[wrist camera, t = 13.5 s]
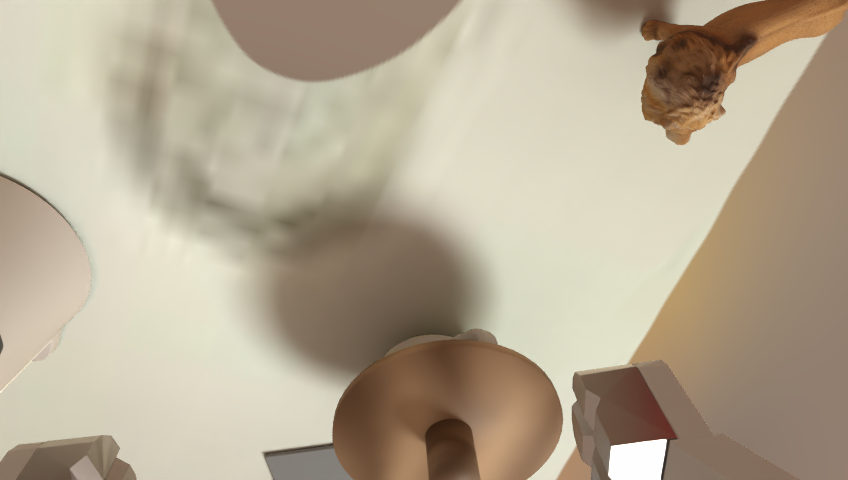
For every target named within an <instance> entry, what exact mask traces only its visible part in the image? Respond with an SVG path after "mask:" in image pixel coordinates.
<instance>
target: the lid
mask: <svg viewBox="0 0 848 480" xmlns="http://www.w3.org/2000/svg"><path fill="white" fill-rule="evenodd" d="M562 424H563V414H562V407H561V404H560V400H559V397H558V395H557V392H556V390H555V388H554V386H553V384H552V382H551V380H550V379H549V378H548V376H547V375H546V374H545V372H544V371H543V370H542V369H541V368H540V367H539V366H537V365H536V364H535V363H534V362H532V361H531V360H530V359H528V358H527V357H525V356H523V355H521V354H520V353H518V352H516V351H514V350H511V349H509V348H506V347H503V346H500V345H497V344H492V343H488V342H483V341H475V340H457V339H451V340H439V341H432V342H427V343H421V344H417V345H414V346H410V347H407V348H404V349H401V350H399V351H396V352H394V353H392V354H389V355H387V356H386V357H384V358H382V359H380V360H378V361H376V362H375V363H373V364H372V365H371V366H369V367H368V368H366V369H365V370H364V371H363V372H362V373H360V374H359V375H358V376H357V377H356V378H355V379H354V380H353V381H352V382H351V384H350V385H349V386H348V387H347V389H346V390H345V392H344V393H343V395H342V397H341V398H340V400H339V403H338V405H337V408H336V411H335V416H334V421H333V445H334V450H335V453H336V456H337V458H338V460H339V462H340V464H341V465H342V467H343V468H344V470H345V471H346V472H347V473H348V474H349V476H350V477H351V478H352V479H354V480H526V479H528V478H529V477H531V476H532V475H533V474H534V473H535V472H536V471H538V470H539V469H540V468H541V467H542V466H543V464H544V463H545V462H546V461H547V460H548V459H549V457H550V456H551V454H552V453H553V451H554V450H555V447H556V445H557V443H558V441H559V438H560V435H561V432H562Z"/></svg>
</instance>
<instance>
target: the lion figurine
mask: <svg viewBox="0 0 848 480" xmlns="http://www.w3.org/2000/svg"><path fill="white" fill-rule="evenodd" d="M847 9H848V0H765V1H759V2H754V3H749V4H745V5H742V6H739V7H736V8H734V9H731V10H729V11H727V12H725V13H723V14H721V15H719V16H717V17H716V18H714V19H713V20H711V21H710V22H708V23H707V24H705V25H704V26H695V25H677V24H669V23H665V22H660V21H655V20H650V21H648V22H646V23H645V25H644V27H643V28H642V36H643V37H644V39H645V40H646V41H649V40H653V39H654V40H662V39H663V40H664V41H662V42H660V43H659V44H658V46H657V49H656V54H654V55H652V56H651V57H650V58H649V61H648V65H647V66H646V72H647V77H646V79H645V84H644V86H643V90H642V93H641V94H642V97H641V102H642V112H643V115H644V118H645V120H648V121H652V122H653V123H655V124H657V125H661V126H663V128H664V129H666V136H667V138H668V139H669V140H671V141H673V142H675V143H676V144H677V145H684V144H686V143H687V142H688V141H689V140H690V135H691V133H692V132H694V131H697V130H700V129H702V128H704V127H705V126H706V124H708V123H710V122H711V121H712V120H718V119H719V118H720V117H721V116H722V115H724V114H725V112H726V111H725V109H724V108H723V107H722V106H721V103H722V101H723V97H724V92H725V90H726V89H727V87H728V86H729V85H730V84H731V83H733V82H734V80H735V77H736V69H737V68H738V66H741V65H743V64H746V63H748V62H750V61H752V60H754V59H756V58H758V57H760V56H762V55H764V54H765V53H767V52H769V51H770V50H772V49H774V48H775V47H777V46H779V45H781V44H783V43H785V42H788V41H790V40H794V39H798V38H807V37H817V36H820V35H823V34H825V33H827V32H829V31H830V30H832V29H833V28H834V27H835V26H837V25H838V24H839V23H840V22H841V21H842V20H843V17H844V14H845V11H846V10H847Z"/></svg>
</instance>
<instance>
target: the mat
mask: <svg viewBox="0 0 848 480" xmlns="http://www.w3.org/2000/svg"><path fill="white" fill-rule="evenodd" d="M265 458H266V461H267V463H268V466H269V468H270V471H271V473H272V476H273V478H274V480H354V479H352V478H351V477H350V476H349V474H348V473H347V472H346V471H345V470H344V468H343V467H342V465H341V464H340V462H339V460H338V458H337V456H336V453H335V450H334V445H330V446H322V447H315V448H307V449H300V450H292V451H285V452H277V453H269V454H266V456H265Z"/></svg>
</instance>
